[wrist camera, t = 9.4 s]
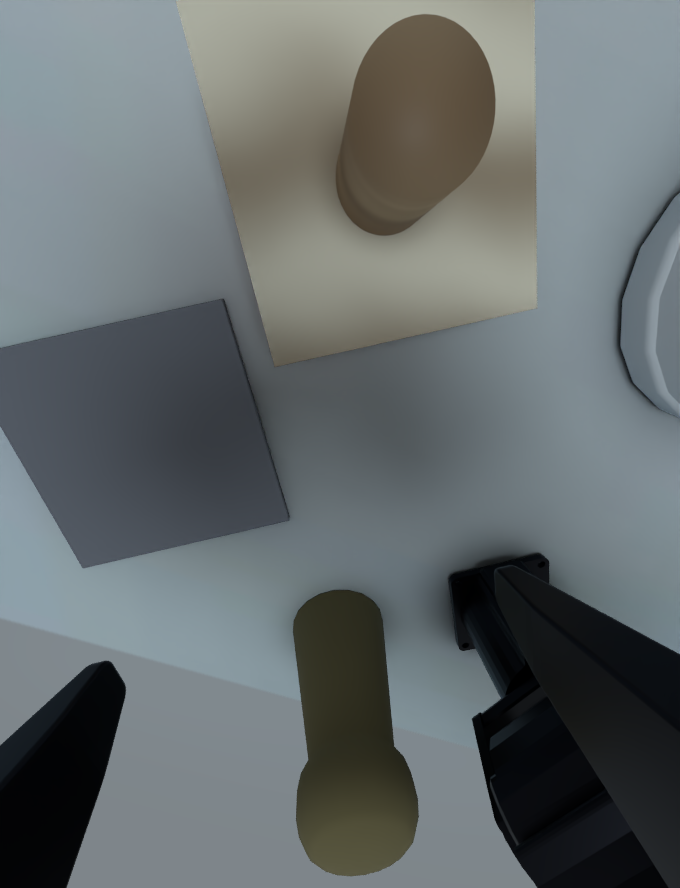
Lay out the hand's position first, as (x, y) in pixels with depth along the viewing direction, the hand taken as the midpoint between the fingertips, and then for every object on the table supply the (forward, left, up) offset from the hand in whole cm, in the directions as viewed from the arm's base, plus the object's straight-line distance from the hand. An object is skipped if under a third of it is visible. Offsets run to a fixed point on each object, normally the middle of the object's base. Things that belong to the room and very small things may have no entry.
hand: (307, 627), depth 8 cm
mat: (+2, +8, -12) cm, 15 cm away
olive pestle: (-13, +1, -12) cm, 18 cm away
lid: (+10, -5, -8) cm, 14 cm away
